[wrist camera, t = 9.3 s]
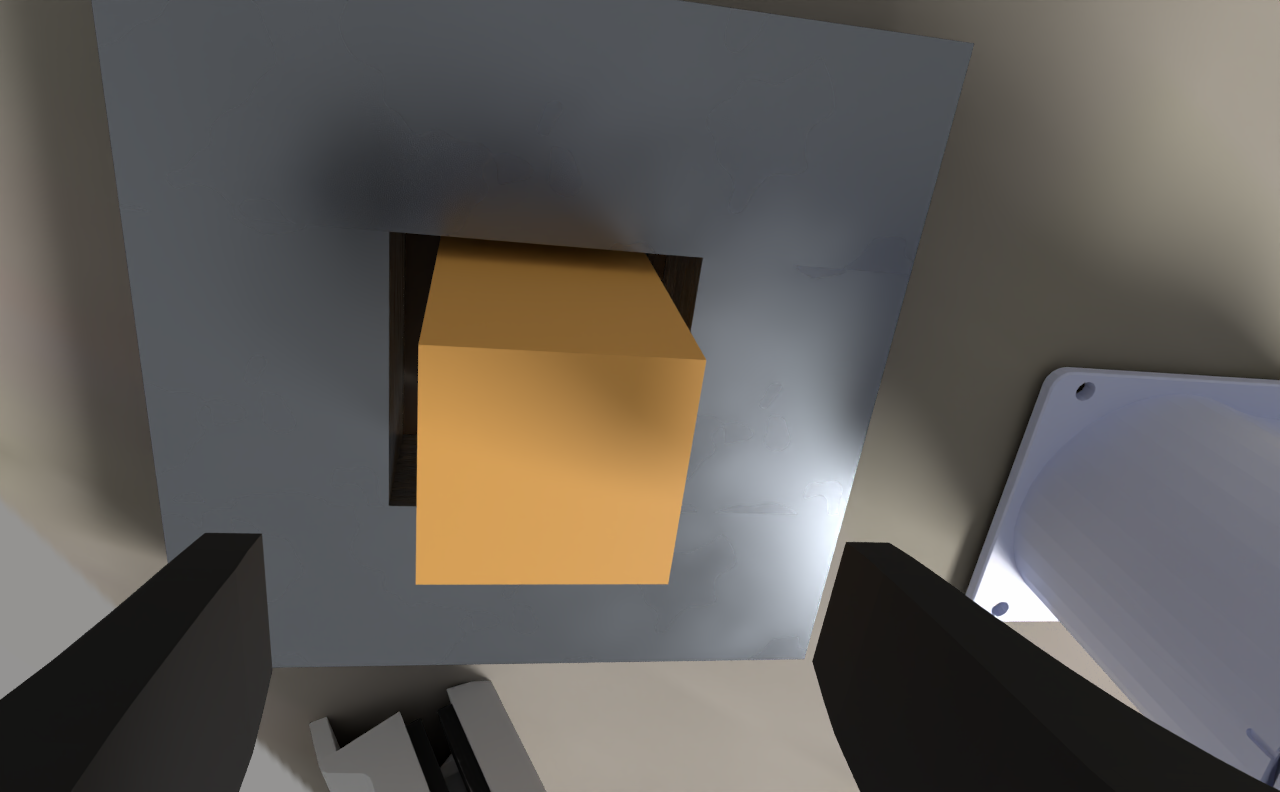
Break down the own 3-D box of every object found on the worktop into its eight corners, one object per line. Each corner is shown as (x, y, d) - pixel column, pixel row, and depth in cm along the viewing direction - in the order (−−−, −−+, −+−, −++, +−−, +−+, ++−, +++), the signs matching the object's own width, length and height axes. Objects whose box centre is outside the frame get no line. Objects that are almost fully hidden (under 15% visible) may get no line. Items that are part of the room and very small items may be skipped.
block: (633, 232, 18) (706, 360, 12) (613, 397, 20) (668, 584, 14) (444, 217, 17) (418, 344, 11) (440, 389, 19) (415, 584, 13)
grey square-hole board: (899, 34, 17) (973, 43, 14) (768, 581, 23) (804, 659, 20) (156, -74, 14) (79, -88, 12) (222, 579, 20) (182, 669, 18)
